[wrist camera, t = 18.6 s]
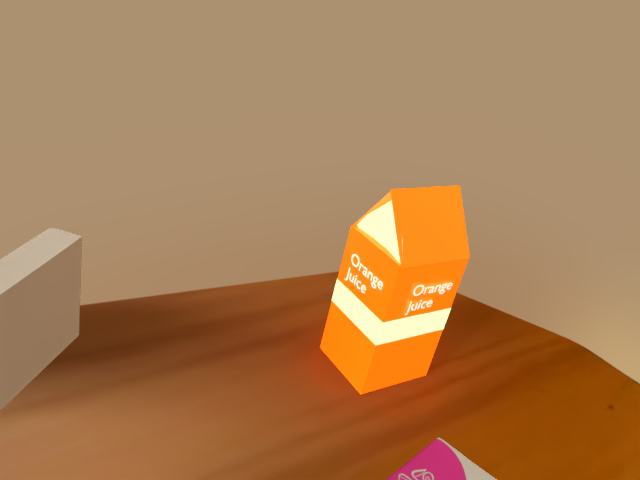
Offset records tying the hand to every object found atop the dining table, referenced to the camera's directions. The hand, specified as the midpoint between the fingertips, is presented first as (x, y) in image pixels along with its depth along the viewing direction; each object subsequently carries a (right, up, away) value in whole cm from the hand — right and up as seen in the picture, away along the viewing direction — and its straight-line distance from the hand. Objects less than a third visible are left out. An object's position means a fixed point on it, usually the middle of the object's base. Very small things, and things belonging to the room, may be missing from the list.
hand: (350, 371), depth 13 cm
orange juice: (+5, -10, +50) cm, 52 cm away
